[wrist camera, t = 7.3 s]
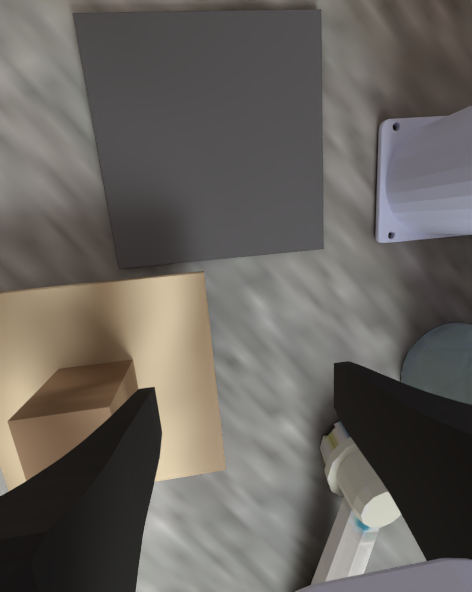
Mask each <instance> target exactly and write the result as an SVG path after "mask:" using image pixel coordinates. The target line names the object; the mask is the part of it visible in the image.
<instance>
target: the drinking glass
mask: <svg viewBox="0 0 472 592" xmlns="http://www.w3.org/2000/svg"><path fill="white" fill-rule="evenodd" d="M401 377H402V378H401V380H400V381H401V382H402V383H404V384H407V385H410V386H412V387H415V388H418V389H421V390H423V391H426V392H429V393H432V394H435V395H438V396H442V397H445V398H449V399H452V400H455V401H459V402H463V403H467V404H471V405H472V324H468V323H449V324H444V325H441V326H438V327H436V328H434V329H432V330H430V331H429V332H427V333H426V334H424V335H423V336H422V337H421V338H420V339H419V340H418V341H417V342H416V343H415V344H414V345H413V346H412V348H411V349H410V350H409V352H408V353H407V355H406V358H405V360H404V363H403V365H402V370H401Z"/></svg>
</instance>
